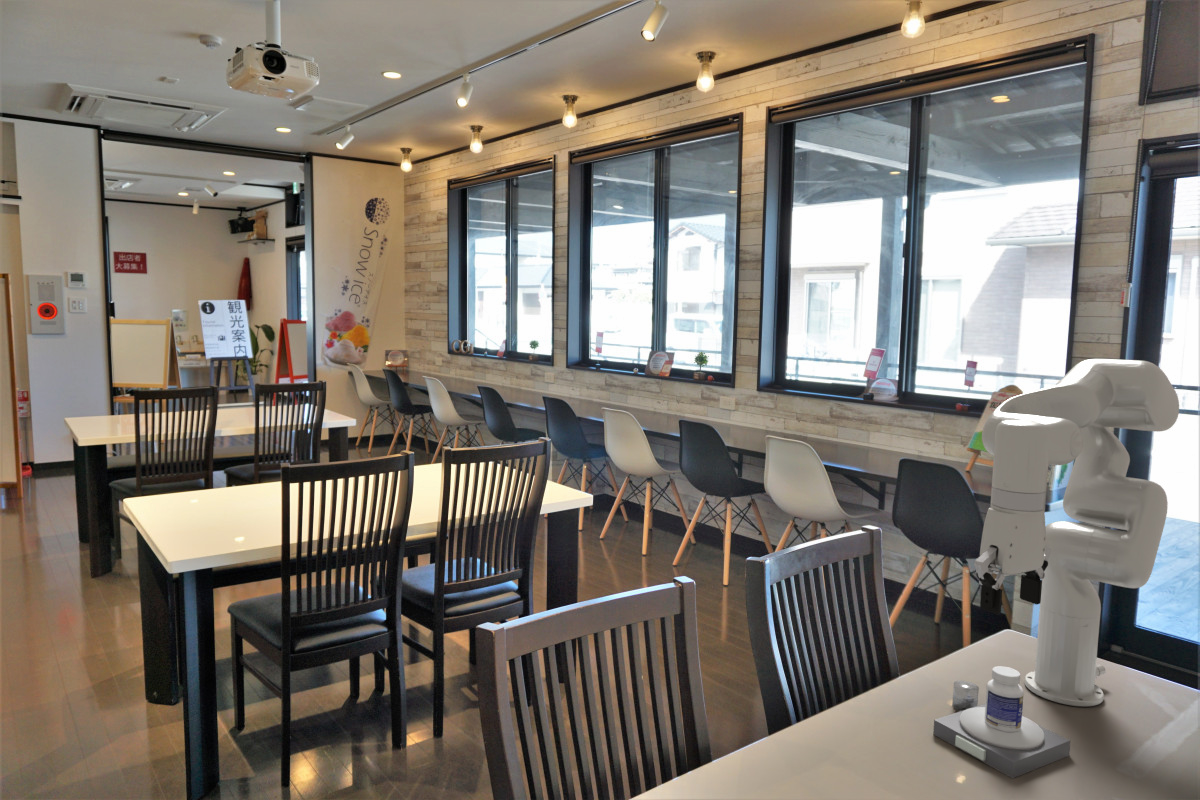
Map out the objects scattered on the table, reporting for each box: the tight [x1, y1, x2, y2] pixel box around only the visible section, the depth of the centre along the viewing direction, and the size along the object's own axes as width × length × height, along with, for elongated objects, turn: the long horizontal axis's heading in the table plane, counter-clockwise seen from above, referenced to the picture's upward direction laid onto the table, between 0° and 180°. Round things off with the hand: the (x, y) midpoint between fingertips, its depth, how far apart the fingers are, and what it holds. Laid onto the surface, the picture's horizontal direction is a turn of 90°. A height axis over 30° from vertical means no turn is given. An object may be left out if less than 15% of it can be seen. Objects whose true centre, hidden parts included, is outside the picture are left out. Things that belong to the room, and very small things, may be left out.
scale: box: [932, 702, 1071, 779], centre depth 127 cm, size 14×14×3 cm
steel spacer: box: [951, 680, 980, 712], centre depth 140 cm, size 4×4×4 cm
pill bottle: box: [985, 665, 1025, 732], centre depth 127 cm, size 5×5×9 cm
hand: (1010, 606), depth 125 cm, fingers open, 9 cm apart
